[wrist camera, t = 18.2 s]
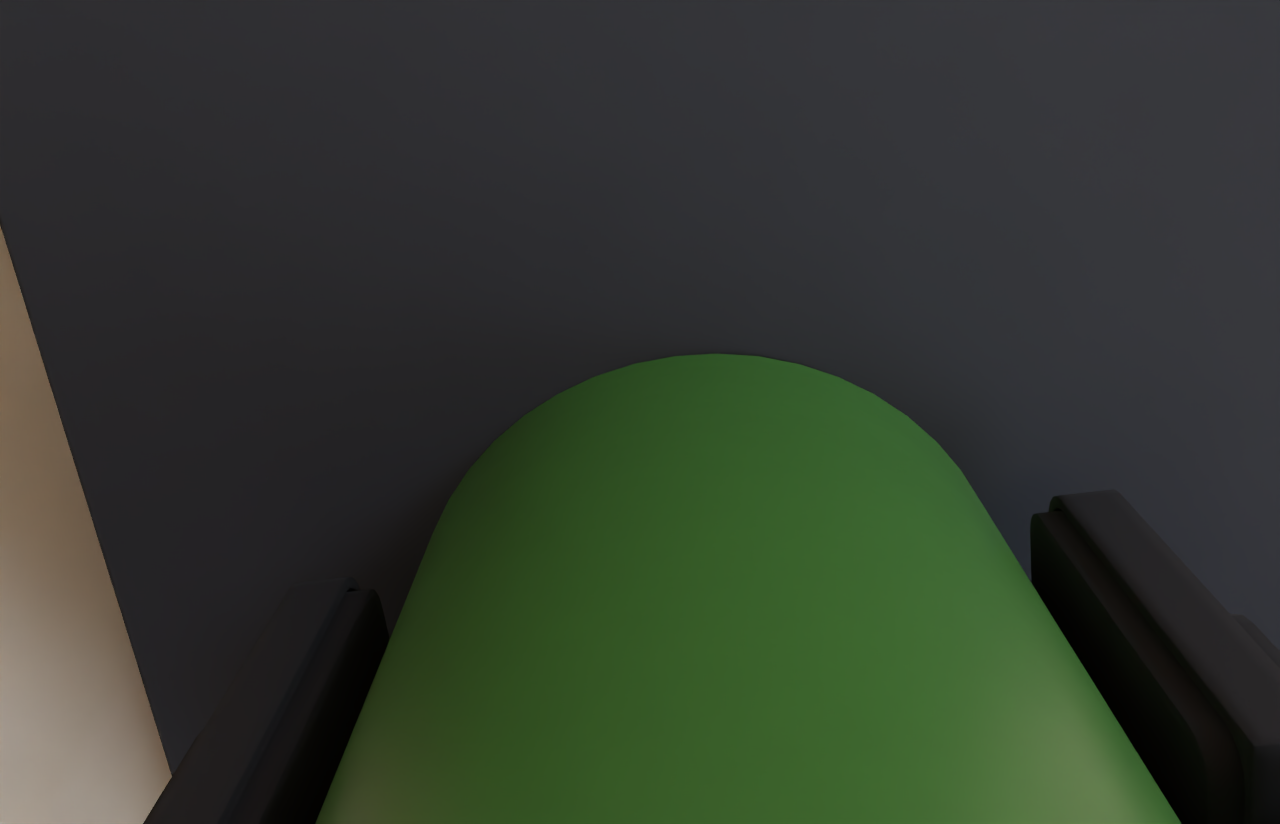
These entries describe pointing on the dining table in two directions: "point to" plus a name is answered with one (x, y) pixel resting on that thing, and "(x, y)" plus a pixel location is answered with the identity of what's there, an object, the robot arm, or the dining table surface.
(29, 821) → the dining table surface
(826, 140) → the mat
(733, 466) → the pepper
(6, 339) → the dining table surface
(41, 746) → the dining table surface
